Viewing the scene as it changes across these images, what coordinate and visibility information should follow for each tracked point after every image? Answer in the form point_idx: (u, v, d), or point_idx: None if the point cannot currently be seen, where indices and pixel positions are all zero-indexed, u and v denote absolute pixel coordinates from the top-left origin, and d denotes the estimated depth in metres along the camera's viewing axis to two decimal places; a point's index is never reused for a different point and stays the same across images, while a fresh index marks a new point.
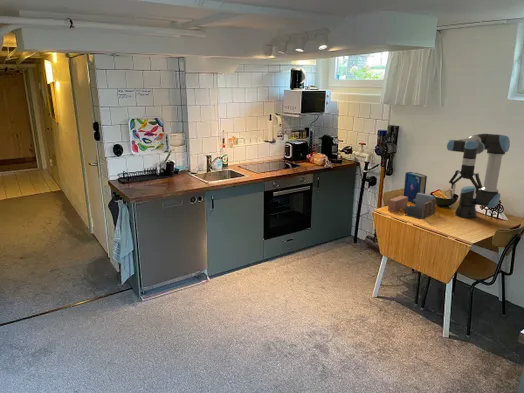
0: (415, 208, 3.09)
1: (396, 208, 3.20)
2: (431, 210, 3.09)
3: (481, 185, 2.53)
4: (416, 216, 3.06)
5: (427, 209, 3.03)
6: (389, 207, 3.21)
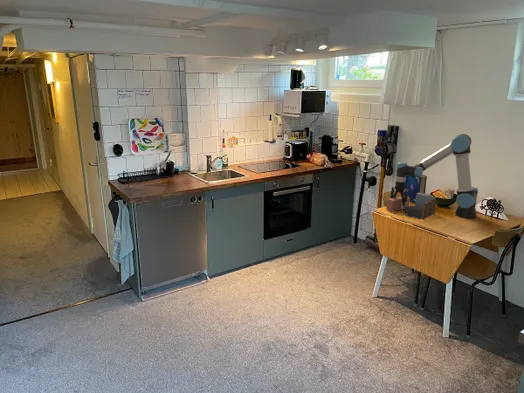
0: (415, 208, 3.09)
1: (394, 208, 3.21)
2: (431, 210, 3.09)
3: (406, 199, 3.20)
4: (416, 216, 3.06)
5: (427, 209, 3.03)
6: (387, 206, 3.23)
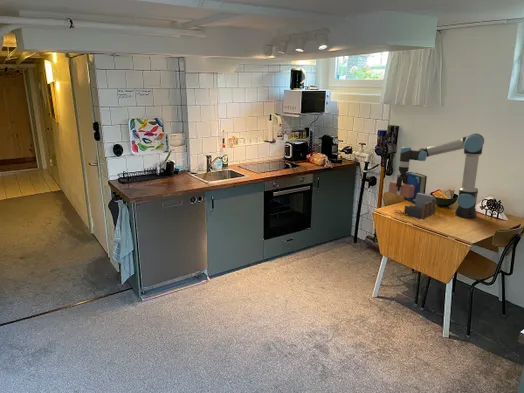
0: (415, 208, 3.09)
1: (391, 189, 3.26)
2: (431, 210, 3.09)
3: (398, 184, 3.14)
4: (416, 216, 3.06)
5: (427, 209, 3.03)
6: None
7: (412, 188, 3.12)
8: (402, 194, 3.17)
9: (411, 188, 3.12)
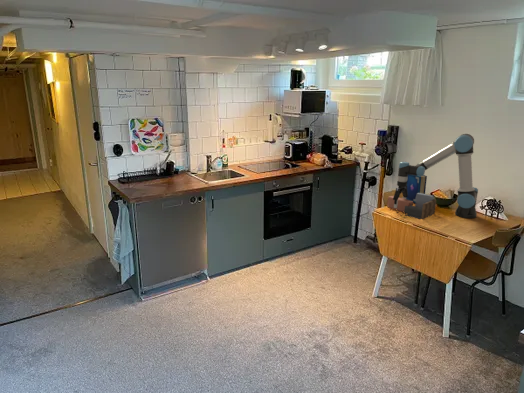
0: (415, 208, 3.09)
1: (389, 204, 3.29)
2: (431, 210, 3.09)
3: (395, 198, 3.15)
4: (416, 216, 3.06)
5: (427, 209, 3.03)
6: None
7: (410, 204, 3.15)
8: (401, 209, 3.20)
9: (410, 204, 3.15)
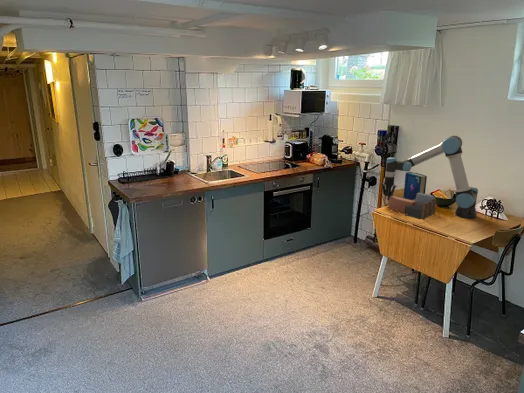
0: (415, 208, 3.09)
1: (391, 205, 3.27)
2: (431, 210, 3.09)
3: (392, 194, 3.28)
4: (416, 216, 3.06)
5: (427, 209, 3.03)
6: None
7: (413, 203, 3.15)
8: (404, 209, 3.19)
9: (413, 204, 3.15)
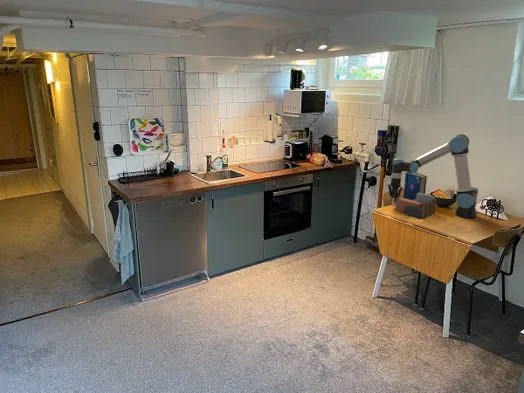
0: (415, 208, 3.09)
1: (398, 207, 3.23)
2: (431, 210, 3.09)
3: None
4: (416, 216, 3.06)
5: (427, 209, 3.03)
6: None
7: (421, 205, 3.11)
8: None
9: (420, 205, 3.11)
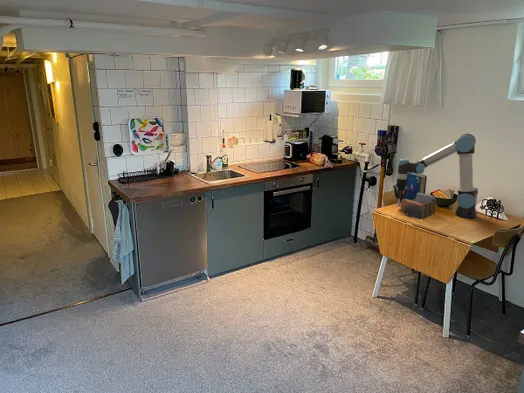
0: (415, 208, 3.09)
1: (403, 208, 3.19)
2: (431, 210, 3.09)
3: (404, 197, 3.20)
4: (416, 216, 3.06)
5: (427, 209, 3.03)
6: None
7: None
8: None
9: None
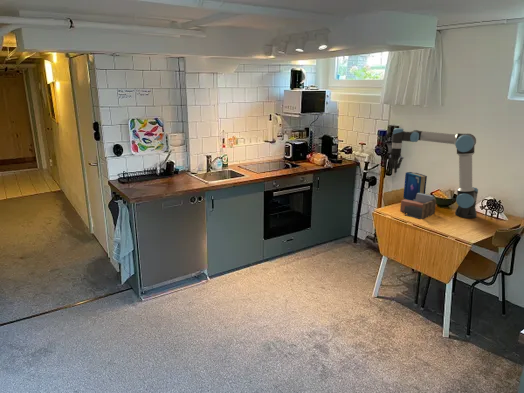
0: (415, 208, 3.09)
1: (403, 209, 3.18)
2: (431, 210, 3.09)
3: (399, 166, 3.19)
4: (416, 216, 3.06)
5: (427, 209, 3.03)
6: None
7: None
8: None
9: None
